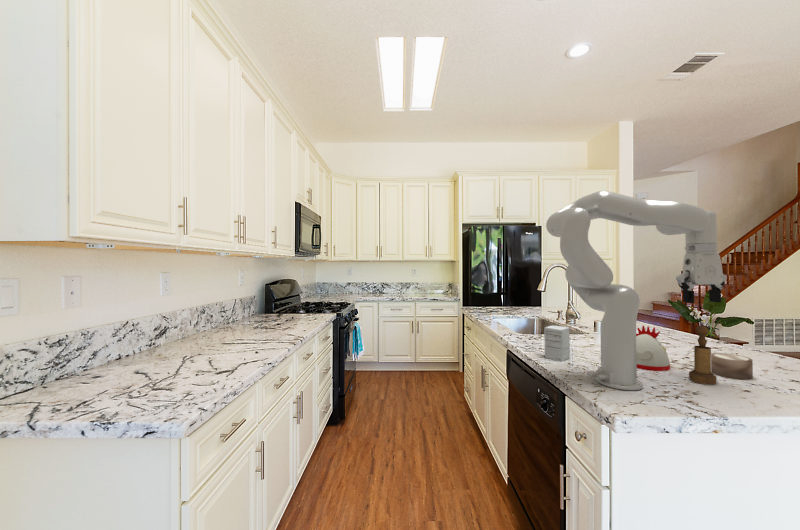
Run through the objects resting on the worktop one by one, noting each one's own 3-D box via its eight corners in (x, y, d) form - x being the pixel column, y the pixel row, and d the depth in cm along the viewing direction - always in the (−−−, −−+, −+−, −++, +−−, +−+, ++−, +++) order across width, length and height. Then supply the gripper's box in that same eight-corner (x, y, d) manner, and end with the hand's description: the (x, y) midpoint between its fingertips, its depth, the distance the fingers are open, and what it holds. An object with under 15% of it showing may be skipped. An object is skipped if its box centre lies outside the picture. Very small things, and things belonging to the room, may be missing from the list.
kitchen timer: (666, 373, 114) (665, 330, 114) (619, 365, 124) (619, 325, 124) (673, 365, 123) (672, 325, 123) (629, 358, 133) (628, 321, 133)
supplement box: (552, 354, 139) (552, 324, 140) (570, 358, 134) (570, 327, 134) (544, 357, 135) (543, 327, 135) (562, 361, 129) (562, 329, 129)
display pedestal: (735, 380, 106) (734, 361, 106) (703, 370, 116) (703, 353, 116) (761, 378, 108) (761, 360, 108) (727, 369, 118) (727, 352, 118)
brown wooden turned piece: (718, 386, 101) (717, 328, 101) (690, 382, 105) (689, 326, 105) (714, 380, 107) (713, 325, 107) (688, 376, 111) (687, 323, 111)
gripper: (688, 249, 101) (689, 304, 101) (737, 248, 103) (738, 302, 103) (666, 250, 109) (667, 301, 109) (712, 250, 111) (713, 300, 111)
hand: (701, 302), depth 106 cm, fingers open, 9 cm apart
